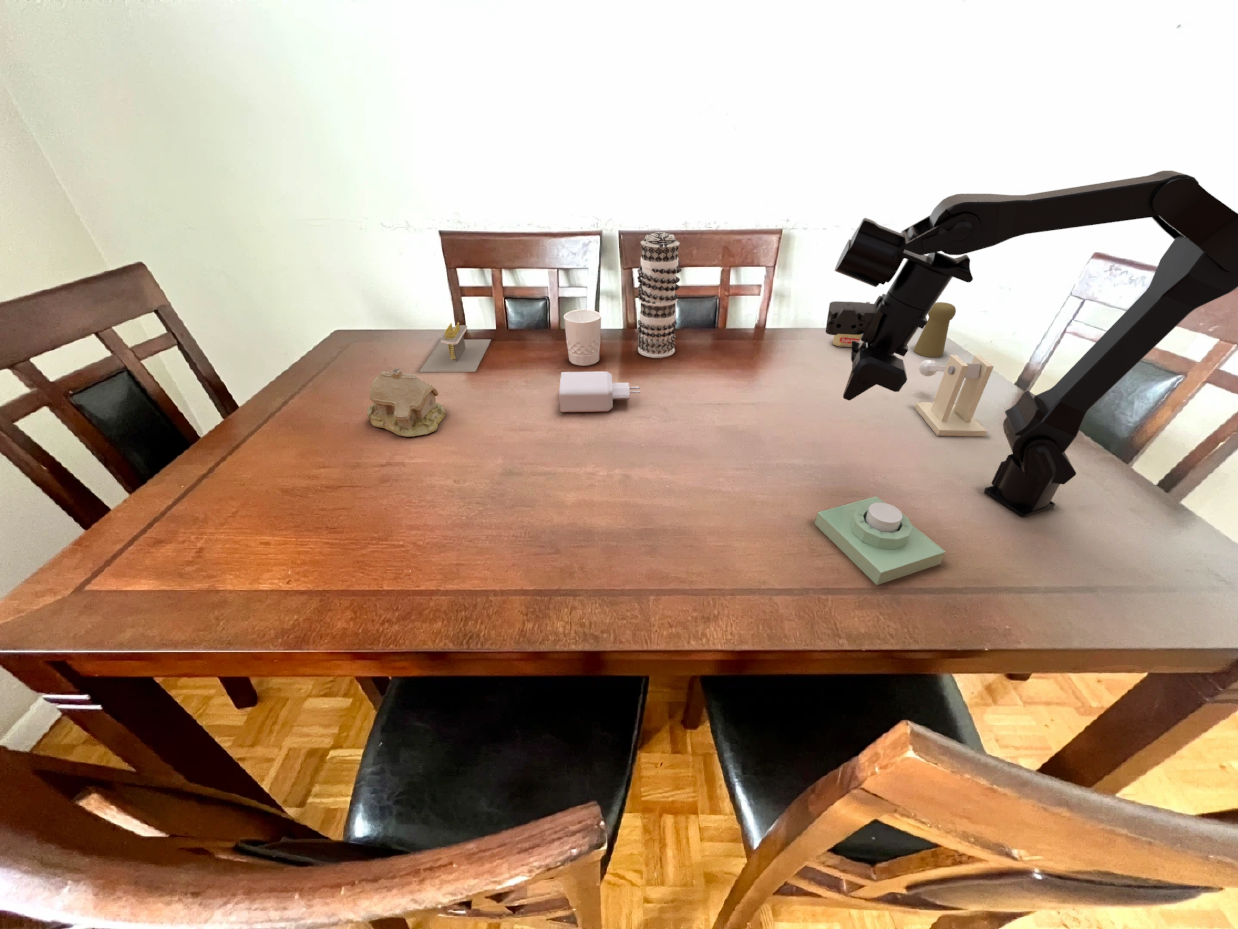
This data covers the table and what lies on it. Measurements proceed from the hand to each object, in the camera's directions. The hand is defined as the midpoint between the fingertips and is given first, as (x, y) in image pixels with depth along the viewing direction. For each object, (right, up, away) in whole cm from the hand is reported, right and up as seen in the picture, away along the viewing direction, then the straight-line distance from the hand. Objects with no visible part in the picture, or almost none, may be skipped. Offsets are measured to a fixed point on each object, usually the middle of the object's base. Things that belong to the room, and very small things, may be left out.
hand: (846, 398), depth 80 cm
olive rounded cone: (+37, +16, +43) cm, 59 cm away
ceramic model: (-72, -2, +19) cm, 74 cm away
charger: (-37, +2, +25) cm, 44 cm away
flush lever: (+26, +6, +19) cm, 33 cm away
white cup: (-41, +13, +41) cm, 59 cm away
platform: (-70, +15, +43) cm, 84 cm away
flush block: (0, -20, -8) cm, 22 cm away
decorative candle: (-25, +16, +45) cm, 54 cm away
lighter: (+20, +18, +47) cm, 54 cm away
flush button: (0, -17, -10) cm, 20 cm away
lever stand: (+26, -2, +18) cm, 31 cm away
